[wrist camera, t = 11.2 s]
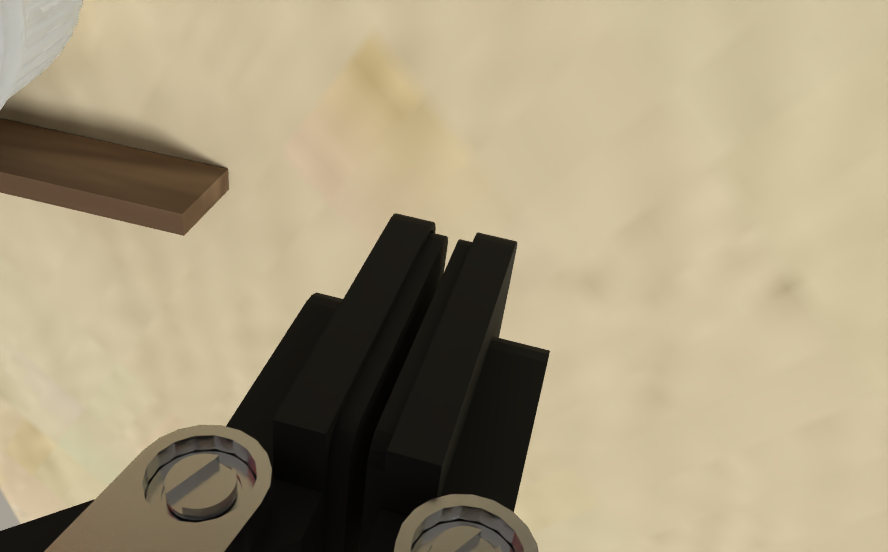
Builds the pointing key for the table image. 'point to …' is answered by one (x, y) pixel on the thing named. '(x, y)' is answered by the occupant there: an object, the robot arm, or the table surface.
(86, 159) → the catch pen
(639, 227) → the table surface
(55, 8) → the ramekin
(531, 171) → the table surface
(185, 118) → the table surface
